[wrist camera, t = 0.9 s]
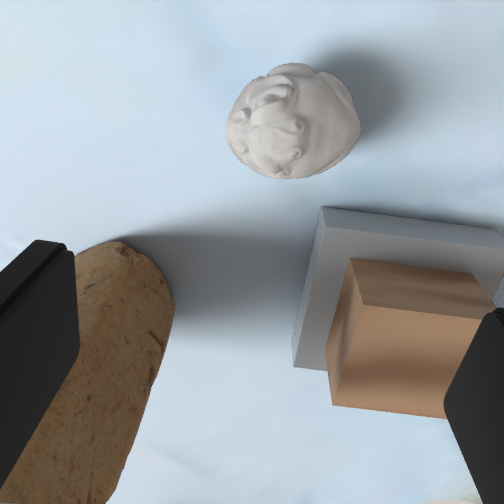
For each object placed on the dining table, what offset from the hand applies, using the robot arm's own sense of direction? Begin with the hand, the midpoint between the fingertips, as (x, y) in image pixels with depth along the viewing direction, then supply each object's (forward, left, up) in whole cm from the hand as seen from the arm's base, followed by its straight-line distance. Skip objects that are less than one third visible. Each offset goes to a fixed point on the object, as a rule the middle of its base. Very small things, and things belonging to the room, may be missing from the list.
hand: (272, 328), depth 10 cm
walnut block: (+11, +10, -17) cm, 22 cm away
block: (+14, -11, -20) cm, 27 cm away
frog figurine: (-1, +1, -20) cm, 20 cm away
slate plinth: (+11, +10, -20) cm, 24 cm away
